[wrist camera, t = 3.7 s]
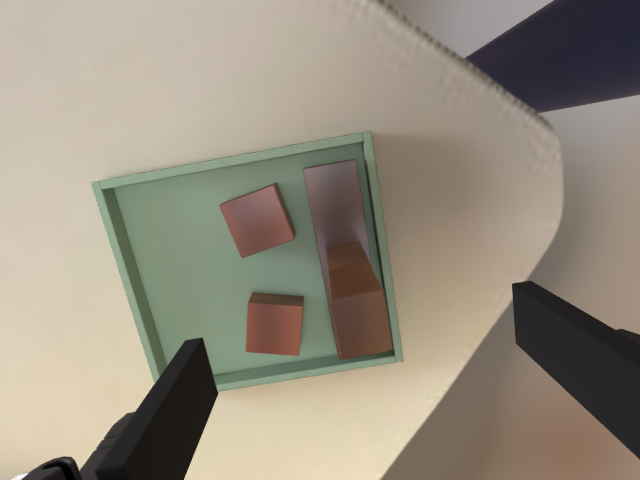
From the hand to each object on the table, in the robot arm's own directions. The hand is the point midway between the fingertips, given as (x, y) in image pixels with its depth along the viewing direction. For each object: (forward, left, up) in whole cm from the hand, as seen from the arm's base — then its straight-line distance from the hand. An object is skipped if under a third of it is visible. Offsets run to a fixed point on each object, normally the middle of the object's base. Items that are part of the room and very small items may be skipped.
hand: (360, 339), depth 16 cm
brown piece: (0, 0, -13) cm, 13 cm away
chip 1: (+5, -4, -13) cm, 14 cm away
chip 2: (+6, +4, -13) cm, 14 cm away
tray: (+6, 0, -13) cm, 15 cm away
